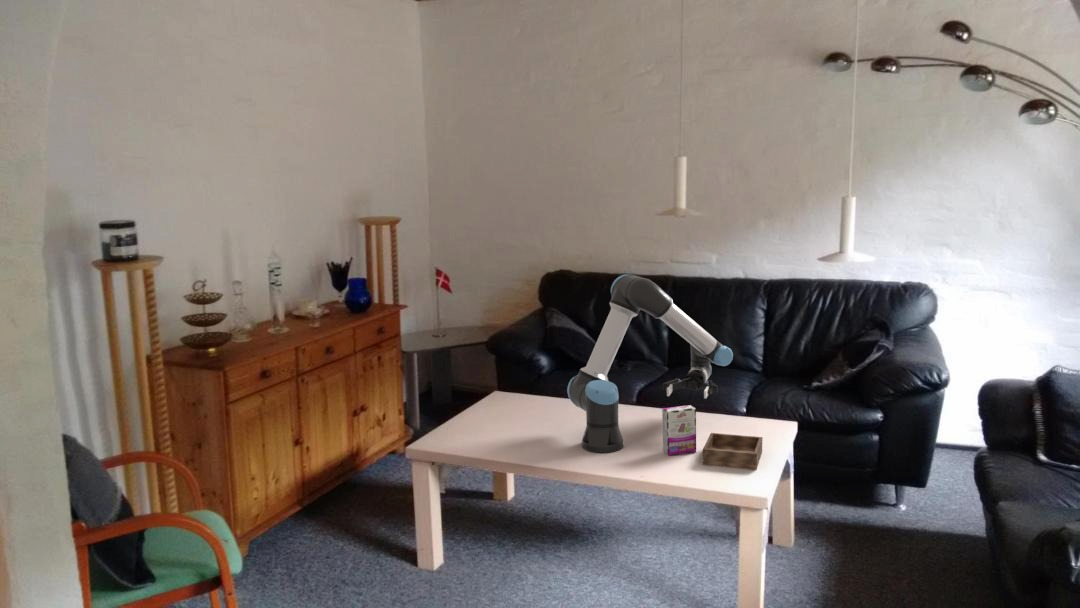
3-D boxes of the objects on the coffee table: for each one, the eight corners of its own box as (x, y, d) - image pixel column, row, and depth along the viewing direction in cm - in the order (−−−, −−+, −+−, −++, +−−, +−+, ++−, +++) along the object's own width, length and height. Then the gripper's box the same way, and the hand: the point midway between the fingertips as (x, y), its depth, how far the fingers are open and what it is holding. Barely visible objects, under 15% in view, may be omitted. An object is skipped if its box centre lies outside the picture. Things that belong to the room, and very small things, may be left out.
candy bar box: (690, 448, 311) (690, 404, 308) (696, 452, 307) (696, 408, 304) (661, 451, 308) (661, 407, 306) (667, 456, 304) (667, 411, 301)
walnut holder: (702, 464, 295) (702, 449, 294) (710, 447, 311) (711, 432, 310) (756, 469, 289) (756, 454, 288) (762, 452, 305) (762, 437, 304)
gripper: (729, 389, 330) (721, 405, 310) (664, 386, 339) (652, 401, 319) (729, 370, 329) (720, 385, 309) (664, 367, 337) (652, 382, 318)
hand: (686, 393), depth 314 cm, fingers open, 13 cm apart
